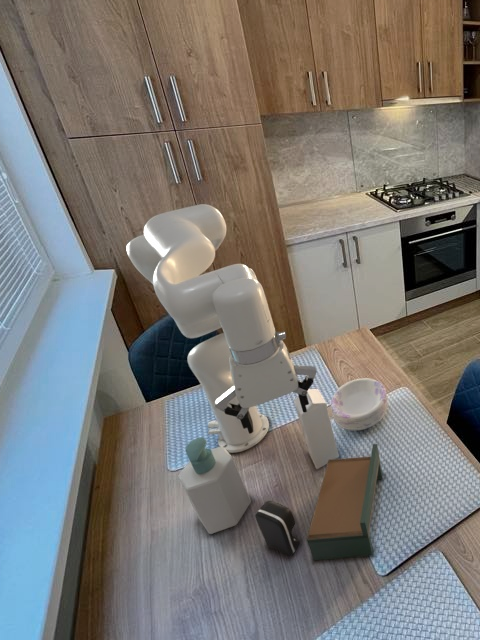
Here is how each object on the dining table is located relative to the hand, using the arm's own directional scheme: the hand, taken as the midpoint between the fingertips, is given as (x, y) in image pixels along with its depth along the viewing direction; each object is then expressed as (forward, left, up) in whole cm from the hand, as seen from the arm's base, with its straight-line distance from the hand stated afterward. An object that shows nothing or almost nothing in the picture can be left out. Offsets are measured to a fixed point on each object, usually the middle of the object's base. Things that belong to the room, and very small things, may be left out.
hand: (278, 417), depth 78 cm
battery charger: (-3, -6, -30) cm, 31 cm away
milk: (0, +15, -30) cm, 34 cm away
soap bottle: (-19, +2, -30) cm, 36 cm away
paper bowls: (+8, +27, -30) cm, 41 cm away
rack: (+10, -1, -30) cm, 32 cm away
